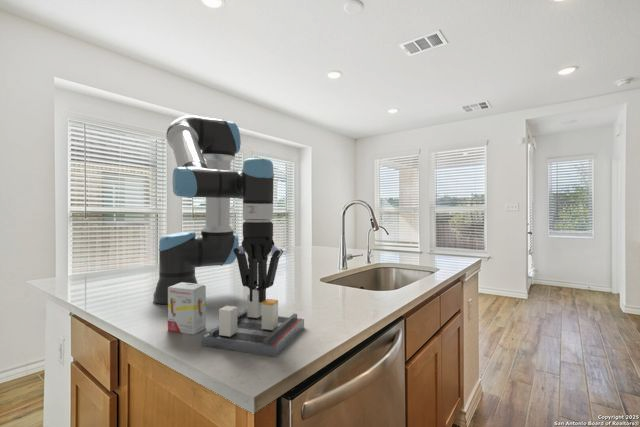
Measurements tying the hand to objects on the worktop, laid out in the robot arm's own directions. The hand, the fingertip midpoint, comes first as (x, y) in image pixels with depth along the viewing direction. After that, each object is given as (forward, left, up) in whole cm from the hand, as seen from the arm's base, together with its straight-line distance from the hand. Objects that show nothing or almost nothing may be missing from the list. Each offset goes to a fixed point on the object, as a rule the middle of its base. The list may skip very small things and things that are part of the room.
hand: (257, 314), depth 80 cm
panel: (0, 0, -6) cm, 6 cm away
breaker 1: (-4, -6, -3) cm, 8 cm away
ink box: (-20, -2, -6) cm, 21 cm away
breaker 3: (+3, 0, -3) cm, 4 cm away
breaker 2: (-4, +7, -3) cm, 8 cm away
